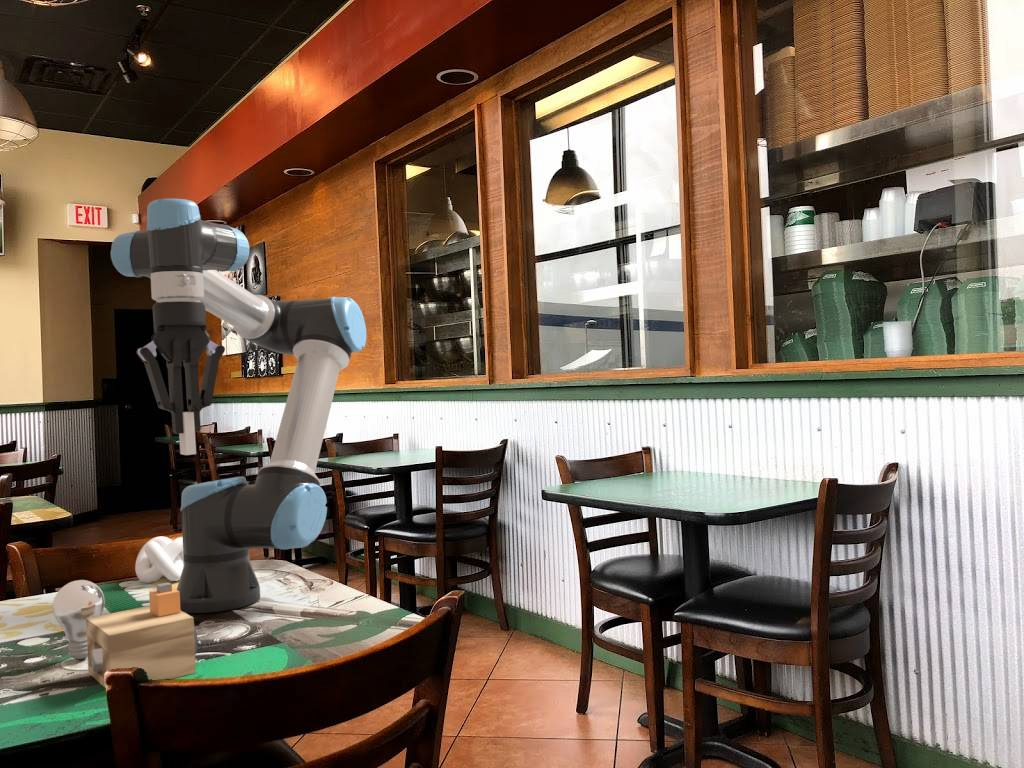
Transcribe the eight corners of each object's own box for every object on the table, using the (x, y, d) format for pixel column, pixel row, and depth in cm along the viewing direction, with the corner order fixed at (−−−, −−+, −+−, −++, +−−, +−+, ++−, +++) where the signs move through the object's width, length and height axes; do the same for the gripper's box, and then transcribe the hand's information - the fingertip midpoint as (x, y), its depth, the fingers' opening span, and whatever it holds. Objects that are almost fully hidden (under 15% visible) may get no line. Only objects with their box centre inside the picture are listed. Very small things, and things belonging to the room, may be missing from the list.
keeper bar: (150, 611, 118) (148, 584, 118) (171, 607, 120) (170, 580, 120) (158, 616, 115) (157, 588, 115) (180, 612, 117) (179, 584, 117)
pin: (89, 675, 113) (88, 638, 113) (185, 652, 122) (184, 617, 122) (99, 684, 109) (98, 646, 109) (198, 660, 118) (196, 624, 118)
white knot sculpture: (120, 587, 169) (119, 544, 169) (155, 573, 181) (153, 533, 181) (170, 587, 167) (168, 543, 167) (202, 573, 179) (200, 533, 179)
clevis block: (88, 672, 116) (86, 618, 116) (167, 653, 124) (165, 602, 124) (111, 694, 107) (109, 635, 107) (195, 672, 114) (193, 617, 114)
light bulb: (67, 654, 125) (64, 576, 125) (114, 650, 126) (111, 573, 126) (45, 669, 118) (42, 587, 118) (95, 666, 119) (92, 584, 119)
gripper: (141, 299, 118) (151, 460, 119) (229, 300, 126) (238, 450, 127) (126, 303, 123) (136, 457, 124) (211, 304, 132) (220, 448, 133)
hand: (188, 453), depth 126 cm, fingers closed
